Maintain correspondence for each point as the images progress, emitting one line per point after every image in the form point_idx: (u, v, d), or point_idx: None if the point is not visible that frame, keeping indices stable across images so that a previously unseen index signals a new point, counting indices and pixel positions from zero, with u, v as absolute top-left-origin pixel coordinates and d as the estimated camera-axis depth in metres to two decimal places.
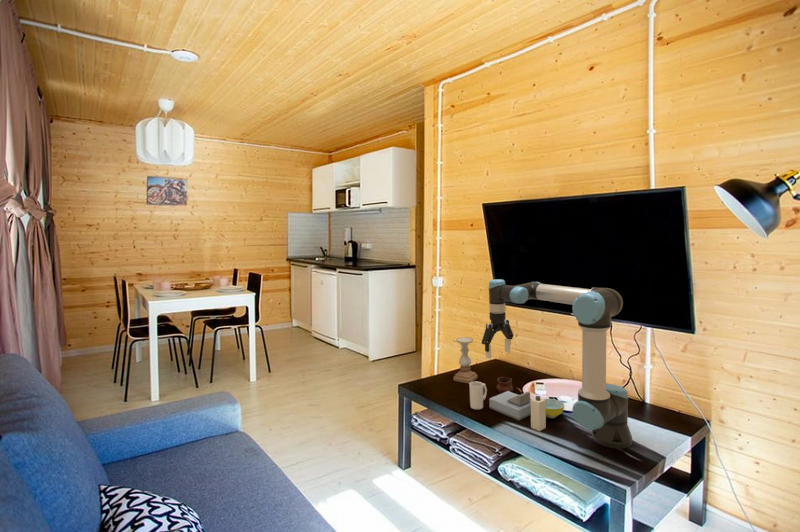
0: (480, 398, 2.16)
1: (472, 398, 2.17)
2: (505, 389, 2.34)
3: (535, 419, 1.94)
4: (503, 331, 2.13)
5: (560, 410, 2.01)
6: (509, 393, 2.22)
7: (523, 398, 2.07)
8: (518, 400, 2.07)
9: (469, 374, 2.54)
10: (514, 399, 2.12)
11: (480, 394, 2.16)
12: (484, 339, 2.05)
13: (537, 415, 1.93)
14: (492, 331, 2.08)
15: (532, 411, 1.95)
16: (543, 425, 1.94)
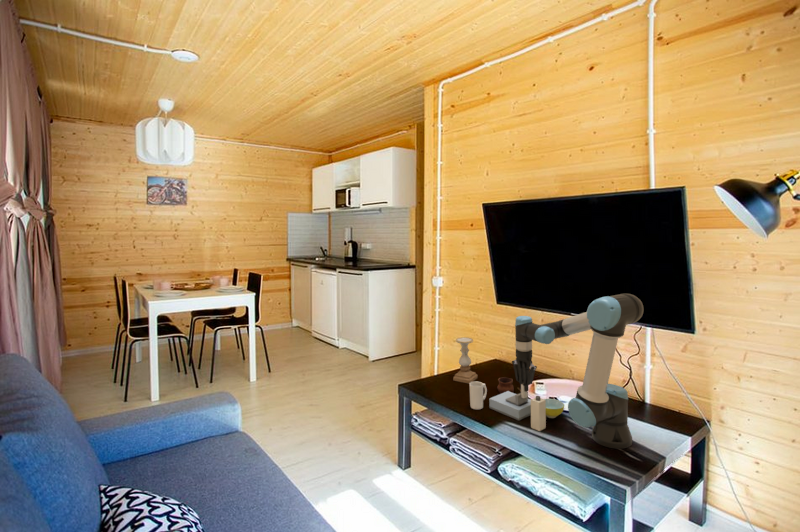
0: (480, 398, 2.16)
1: (472, 398, 2.17)
2: (506, 389, 2.33)
3: (535, 419, 1.94)
4: None
5: (560, 410, 2.01)
6: (509, 393, 2.22)
7: None
8: (516, 399, 2.08)
9: (469, 374, 2.54)
10: (512, 398, 2.13)
11: (480, 394, 2.16)
12: None
13: (537, 415, 1.93)
14: None
15: (532, 411, 1.95)
16: (543, 425, 1.94)
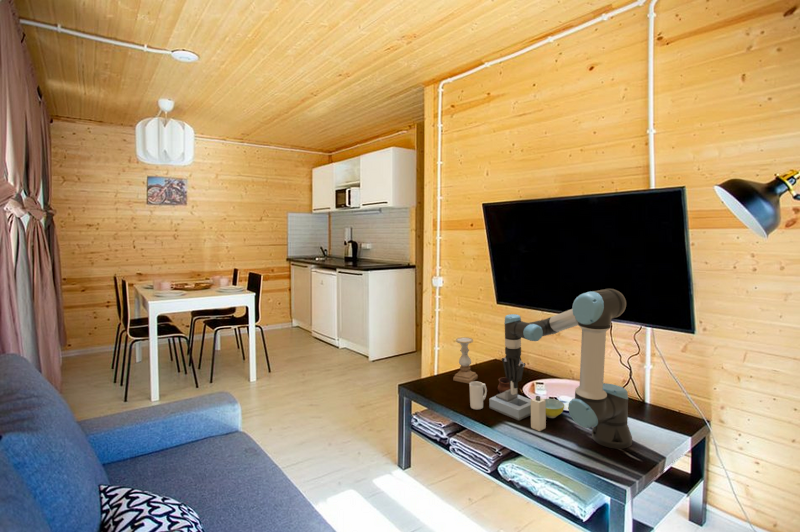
0: (480, 398, 2.16)
1: (472, 398, 2.17)
2: (506, 389, 2.33)
3: (535, 419, 1.94)
4: None
5: (560, 410, 2.01)
6: None
7: (510, 393, 2.13)
8: (506, 395, 2.13)
9: (469, 374, 2.54)
10: (502, 394, 2.18)
11: (480, 394, 2.16)
12: None
13: (537, 415, 1.93)
14: None
15: (532, 411, 1.95)
16: (543, 425, 1.94)
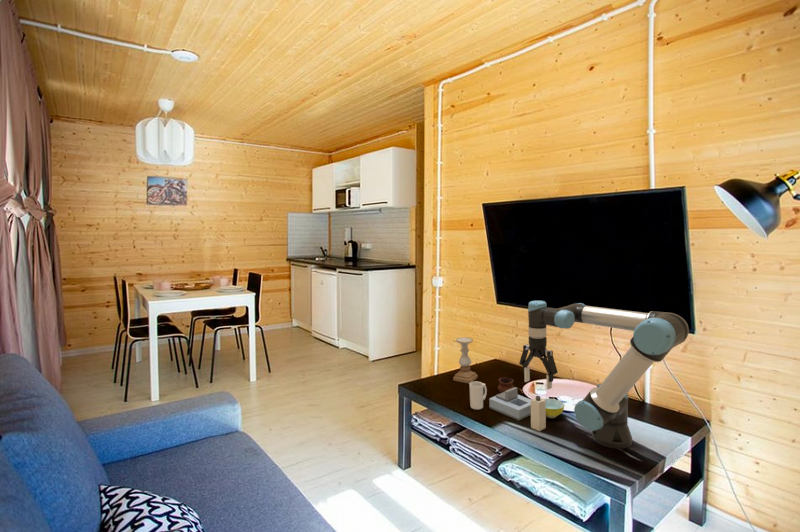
0: (480, 398, 2.16)
1: (472, 398, 2.17)
2: (506, 390, 2.33)
3: (535, 419, 1.94)
4: None
5: (560, 410, 2.01)
6: None
7: (510, 393, 2.13)
8: (506, 395, 2.13)
9: (469, 374, 2.54)
10: (502, 394, 2.18)
11: (480, 394, 2.16)
12: None
13: (537, 415, 1.93)
14: None
15: (532, 411, 1.95)
16: (543, 425, 1.94)
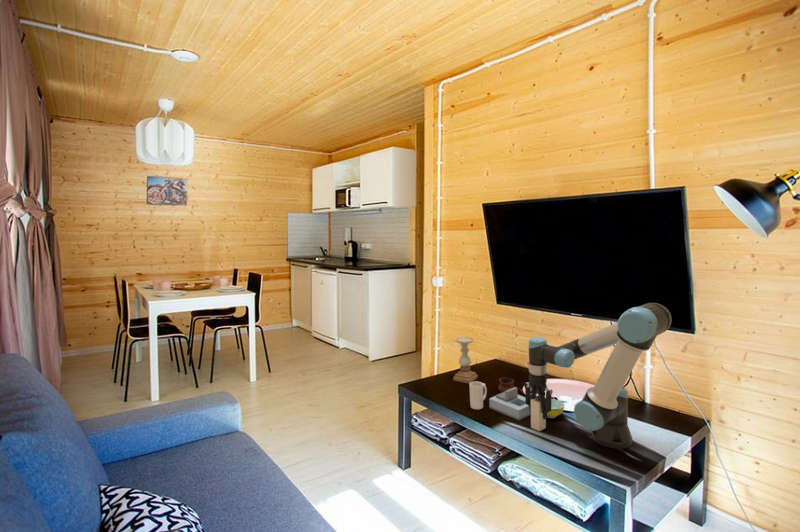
0: (480, 398, 2.16)
1: (472, 398, 2.17)
2: None
3: (535, 419, 1.94)
4: None
5: (560, 410, 2.01)
6: None
7: (510, 393, 2.13)
8: (506, 395, 2.13)
9: (469, 374, 2.54)
10: (502, 394, 2.18)
11: (480, 394, 2.16)
12: None
13: (537, 415, 1.93)
14: None
15: (532, 411, 1.95)
16: None
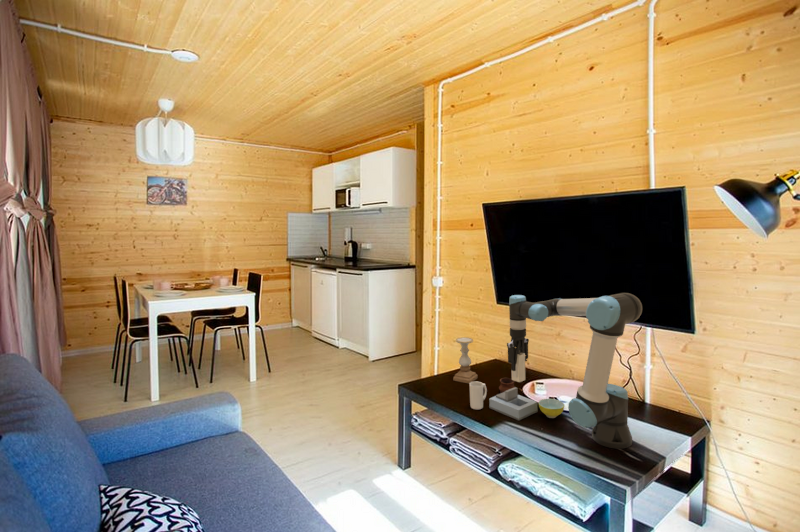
0: (480, 398, 2.16)
1: (472, 398, 2.17)
2: None
3: (522, 371, 2.08)
4: (520, 349, 2.09)
5: (560, 410, 2.01)
6: None
7: (510, 393, 2.13)
8: (506, 395, 2.13)
9: (469, 374, 2.54)
10: (502, 394, 2.18)
11: (480, 394, 2.16)
12: (510, 359, 2.05)
13: (523, 366, 2.08)
14: (514, 349, 2.07)
15: (520, 365, 2.07)
16: None
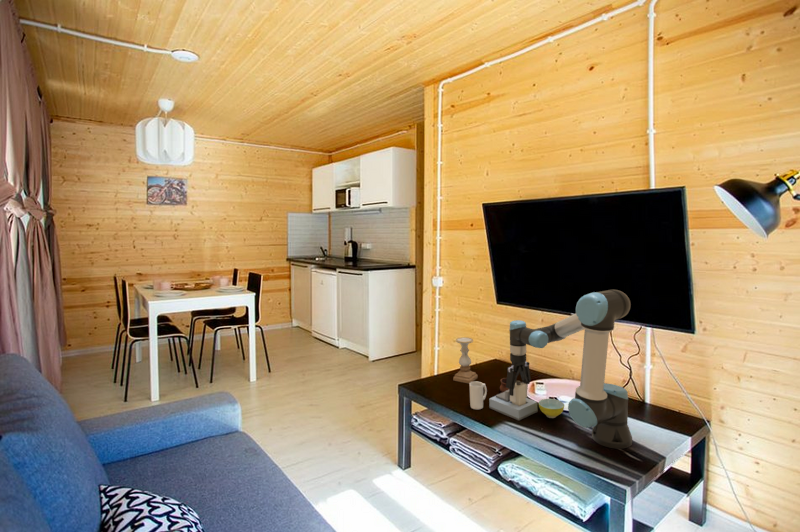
0: (480, 398, 2.16)
1: (472, 398, 2.17)
2: None
3: (522, 402, 2.10)
4: (522, 373, 2.11)
5: (560, 410, 2.01)
6: None
7: None
8: (506, 395, 2.13)
9: (469, 374, 2.54)
10: (502, 394, 2.18)
11: (480, 394, 2.16)
12: (508, 383, 2.06)
13: (524, 397, 2.10)
14: (513, 373, 2.08)
15: (520, 396, 2.08)
16: None
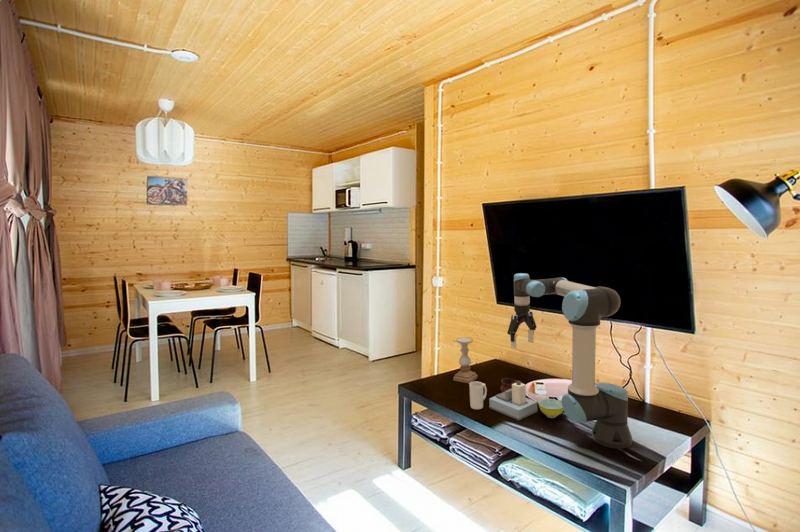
0: (480, 398, 2.16)
1: (472, 398, 2.17)
2: None
3: (522, 402, 2.10)
4: (527, 322, 2.25)
5: (560, 410, 2.01)
6: None
7: (510, 393, 2.13)
8: (506, 395, 2.13)
9: (469, 374, 2.54)
10: (502, 394, 2.18)
11: (480, 394, 2.16)
12: (510, 330, 2.17)
13: (524, 397, 2.10)
14: (516, 322, 2.20)
15: (520, 396, 2.08)
16: None
